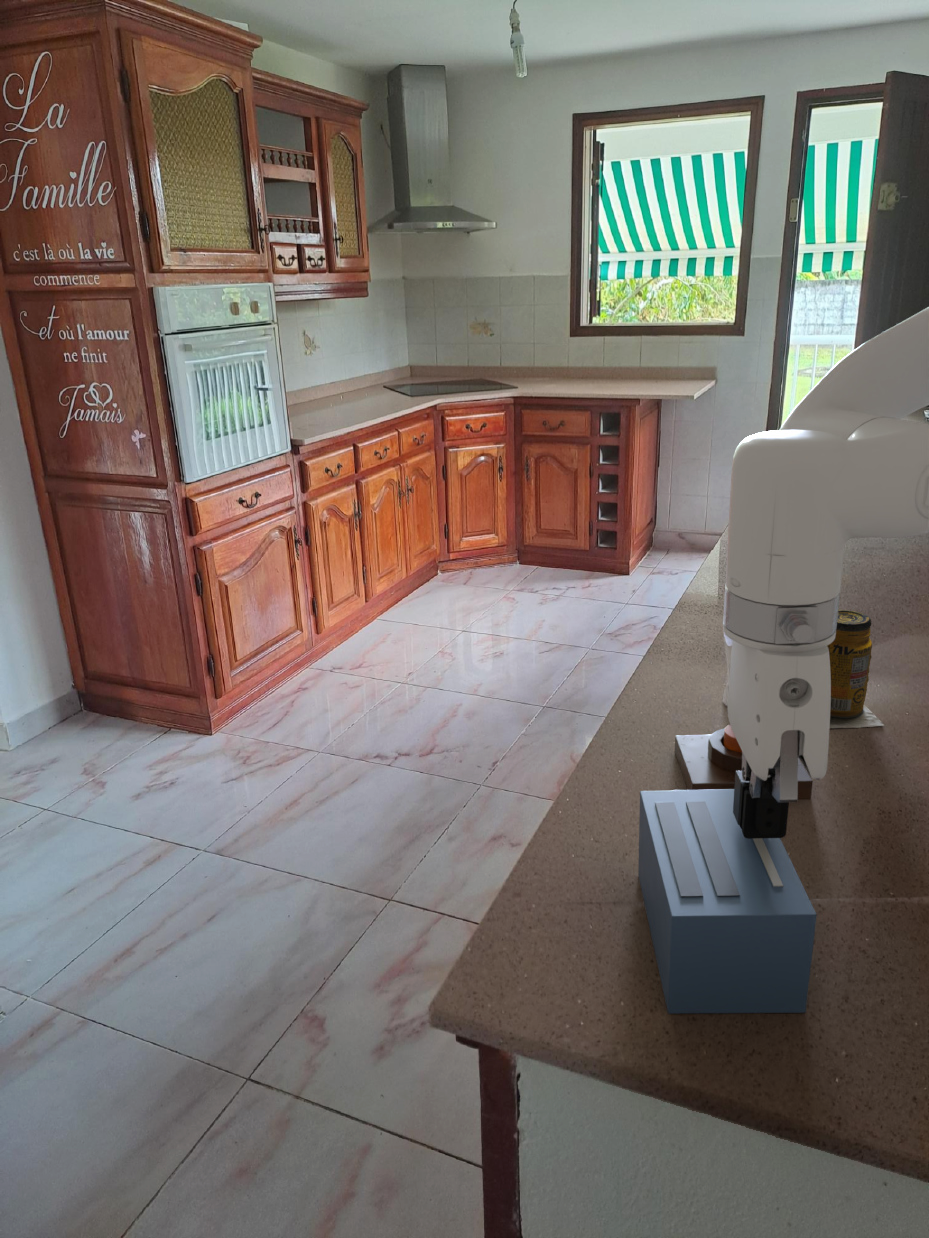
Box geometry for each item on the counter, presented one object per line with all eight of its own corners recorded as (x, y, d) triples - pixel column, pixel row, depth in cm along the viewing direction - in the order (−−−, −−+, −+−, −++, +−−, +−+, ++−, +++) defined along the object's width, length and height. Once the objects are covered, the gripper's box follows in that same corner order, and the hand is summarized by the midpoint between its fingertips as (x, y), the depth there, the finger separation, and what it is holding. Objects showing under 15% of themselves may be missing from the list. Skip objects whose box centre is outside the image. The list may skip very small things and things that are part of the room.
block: (782, 749, 99) (785, 718, 97) (811, 799, 89) (814, 765, 88) (674, 752, 99) (675, 721, 98) (691, 802, 90) (693, 768, 89)
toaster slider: (762, 812, 72) (765, 769, 71) (768, 824, 71) (771, 782, 69) (732, 812, 72) (735, 770, 71) (737, 825, 71) (740, 782, 69)
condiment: (853, 694, 110) (864, 604, 105) (884, 727, 102) (897, 631, 98) (795, 697, 110) (803, 608, 106) (821, 730, 102) (831, 635, 98)
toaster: (750, 873, 79) (756, 787, 76) (805, 1012, 64) (817, 913, 61) (638, 875, 80) (639, 789, 77) (667, 1013, 65) (671, 915, 62)
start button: (753, 736, 95) (755, 722, 94) (763, 753, 91) (764, 739, 91) (720, 737, 95) (720, 723, 94) (727, 754, 92) (728, 740, 91)
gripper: (876, 654, 54) (845, 895, 61) (801, 575, 68) (782, 778, 75) (752, 658, 55) (735, 897, 61) (702, 579, 69) (693, 781, 75)
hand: (761, 831), depth 68 cm, fingers closed
